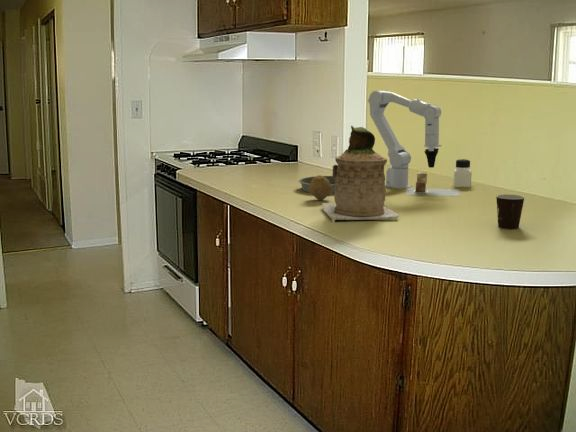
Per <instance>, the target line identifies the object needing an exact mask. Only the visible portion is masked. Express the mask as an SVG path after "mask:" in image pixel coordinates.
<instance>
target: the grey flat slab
mask: <svg viewBox="0 0 576 432" xmlns="http://www.w3.org/2000/svg"><path fill="white" fill-rule="evenodd" d="M405 195H407V196H408V195H409V196H435V197H437V196H438V197H461V193H460V189H448V188H447V189H446V188H426V192H425V193H420V192H416V187H414V188H412V187H407V188H406V191H405Z"/></svg>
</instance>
